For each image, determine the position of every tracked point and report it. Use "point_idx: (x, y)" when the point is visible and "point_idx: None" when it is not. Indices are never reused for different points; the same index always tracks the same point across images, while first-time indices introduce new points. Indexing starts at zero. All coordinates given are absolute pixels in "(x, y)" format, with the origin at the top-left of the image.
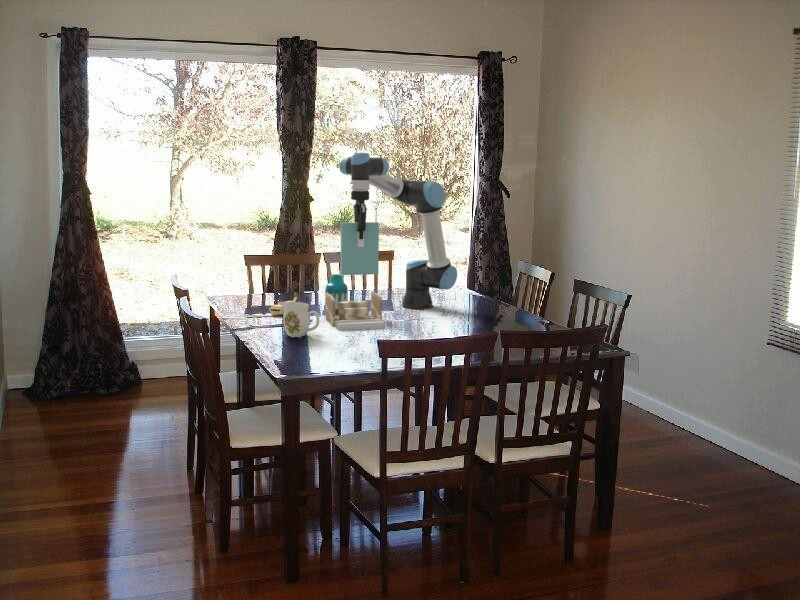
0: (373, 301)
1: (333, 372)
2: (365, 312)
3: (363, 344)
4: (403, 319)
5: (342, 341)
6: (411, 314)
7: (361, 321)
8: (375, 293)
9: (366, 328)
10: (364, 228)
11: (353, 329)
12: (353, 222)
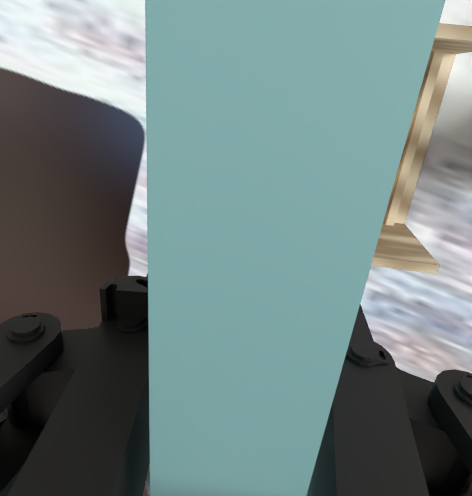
0: (387, 244)
1: None
2: None
3: (82, 71)
4: (364, 311)
5: (134, 10)
6: (417, 356)
7: None
8: (381, 262)
9: None
10: (5, 411)
11: None
12: (324, 419)
